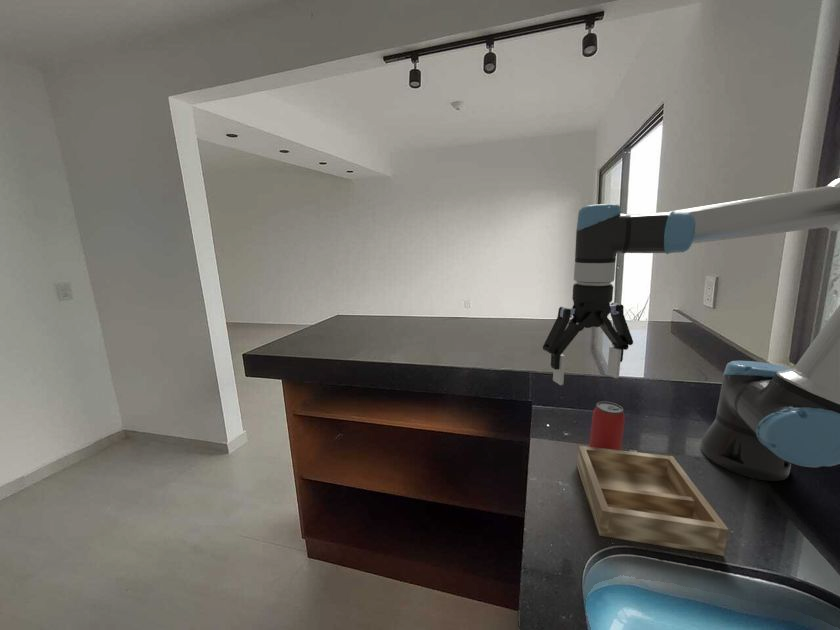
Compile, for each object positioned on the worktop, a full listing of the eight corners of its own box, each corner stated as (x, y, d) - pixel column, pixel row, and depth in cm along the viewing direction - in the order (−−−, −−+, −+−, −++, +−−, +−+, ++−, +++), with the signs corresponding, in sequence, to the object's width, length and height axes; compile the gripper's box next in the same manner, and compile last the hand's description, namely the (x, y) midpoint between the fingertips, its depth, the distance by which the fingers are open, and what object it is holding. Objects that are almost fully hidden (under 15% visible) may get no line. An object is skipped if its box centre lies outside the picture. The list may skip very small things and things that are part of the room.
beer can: (624, 463, 80) (630, 415, 77) (593, 460, 81) (598, 412, 79) (614, 446, 86) (620, 401, 84) (585, 443, 88) (590, 399, 85)
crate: (669, 477, 75) (672, 456, 74) (723, 555, 57) (728, 529, 56) (576, 465, 79) (578, 445, 78) (599, 535, 61) (602, 510, 60)
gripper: (630, 277, 79) (622, 367, 84) (528, 284, 74) (525, 378, 79) (659, 281, 72) (648, 379, 76) (548, 288, 67) (543, 392, 71)
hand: (585, 379), depth 77 cm, fingers open, 13 cm apart
